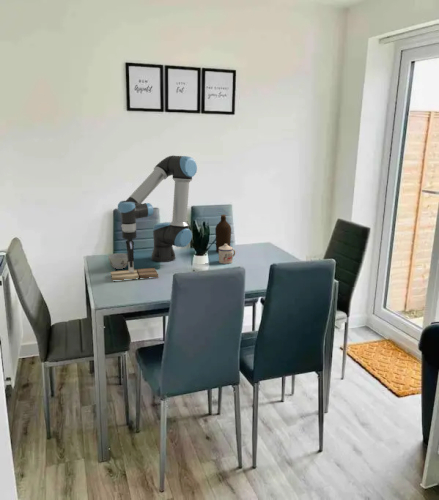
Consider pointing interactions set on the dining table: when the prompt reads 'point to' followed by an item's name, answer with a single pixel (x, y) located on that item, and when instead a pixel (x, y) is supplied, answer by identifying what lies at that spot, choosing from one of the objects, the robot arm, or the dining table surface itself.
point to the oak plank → (124, 275)
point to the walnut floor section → (147, 272)
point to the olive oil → (222, 233)
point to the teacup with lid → (226, 254)
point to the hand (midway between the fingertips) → (131, 272)
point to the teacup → (118, 260)
